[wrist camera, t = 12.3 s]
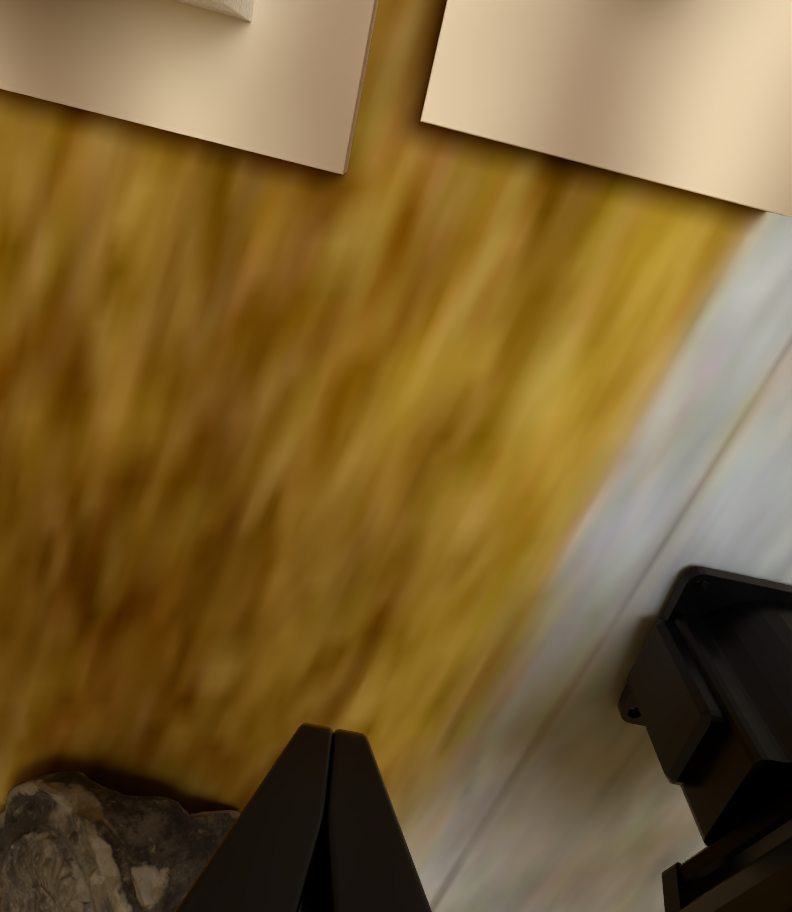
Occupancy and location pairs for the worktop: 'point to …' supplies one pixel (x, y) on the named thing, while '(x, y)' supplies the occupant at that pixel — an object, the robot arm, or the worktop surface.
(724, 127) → the stand
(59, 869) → the carved stone fragment
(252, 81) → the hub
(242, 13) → the collar
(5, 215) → the worktop surface
